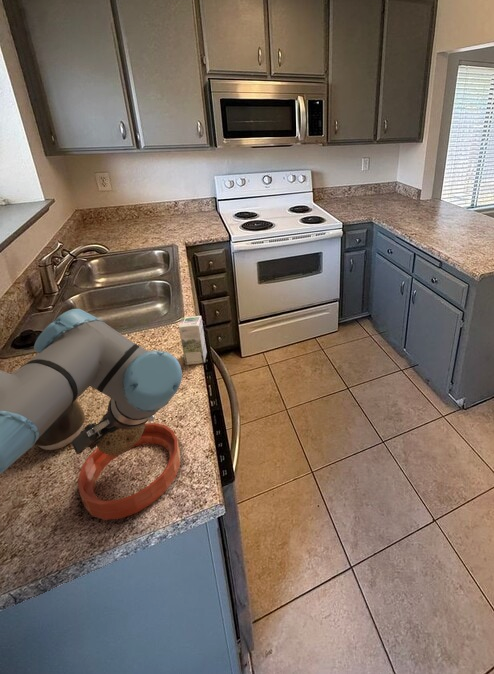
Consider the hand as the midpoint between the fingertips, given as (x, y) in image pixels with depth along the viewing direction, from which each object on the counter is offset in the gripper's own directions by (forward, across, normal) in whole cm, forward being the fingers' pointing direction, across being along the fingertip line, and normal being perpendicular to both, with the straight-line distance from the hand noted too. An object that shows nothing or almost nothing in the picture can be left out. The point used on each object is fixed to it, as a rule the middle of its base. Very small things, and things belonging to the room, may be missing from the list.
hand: (115, 426), depth 74 cm
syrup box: (+21, +30, +6) cm, 37 cm away
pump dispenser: (+21, -6, +6) cm, 23 cm away
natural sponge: (+1, 0, -5) cm, 5 cm away
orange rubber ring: (+5, 0, -11) cm, 12 cm away
